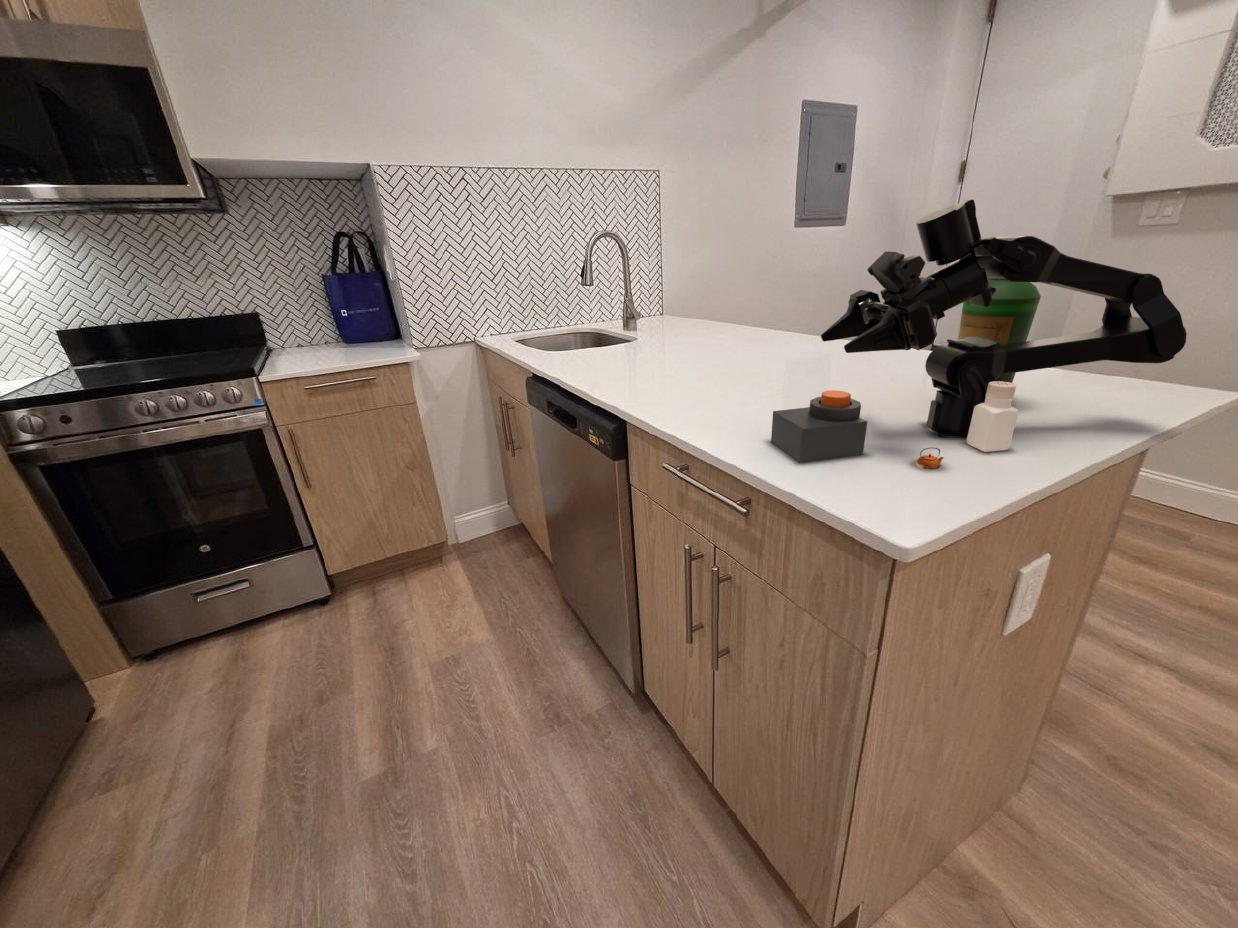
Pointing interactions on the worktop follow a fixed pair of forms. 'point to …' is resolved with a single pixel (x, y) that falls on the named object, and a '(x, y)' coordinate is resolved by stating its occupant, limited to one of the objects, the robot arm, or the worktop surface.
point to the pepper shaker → (994, 418)
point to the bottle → (1002, 315)
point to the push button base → (819, 431)
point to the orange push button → (835, 398)
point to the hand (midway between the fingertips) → (832, 343)
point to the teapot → (929, 461)
